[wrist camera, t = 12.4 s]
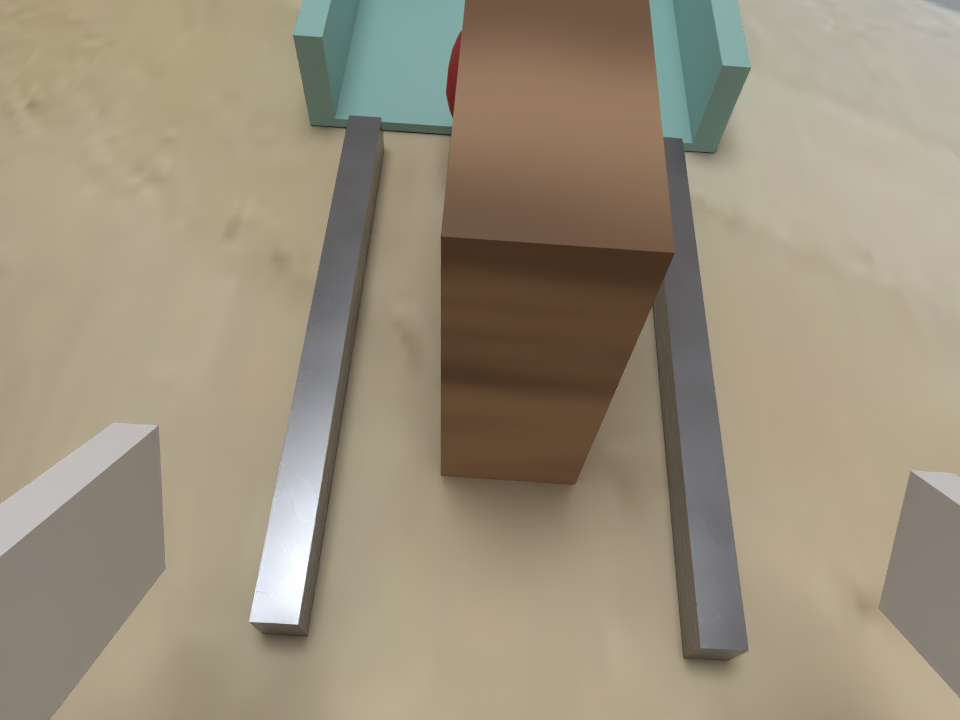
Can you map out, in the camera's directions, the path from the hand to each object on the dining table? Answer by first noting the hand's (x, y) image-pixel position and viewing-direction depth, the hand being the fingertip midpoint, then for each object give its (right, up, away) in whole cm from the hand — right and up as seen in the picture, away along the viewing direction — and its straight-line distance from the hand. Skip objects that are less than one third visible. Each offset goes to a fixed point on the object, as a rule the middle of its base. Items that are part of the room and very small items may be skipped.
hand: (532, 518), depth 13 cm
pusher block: (0, +4, +12) cm, 12 cm away
